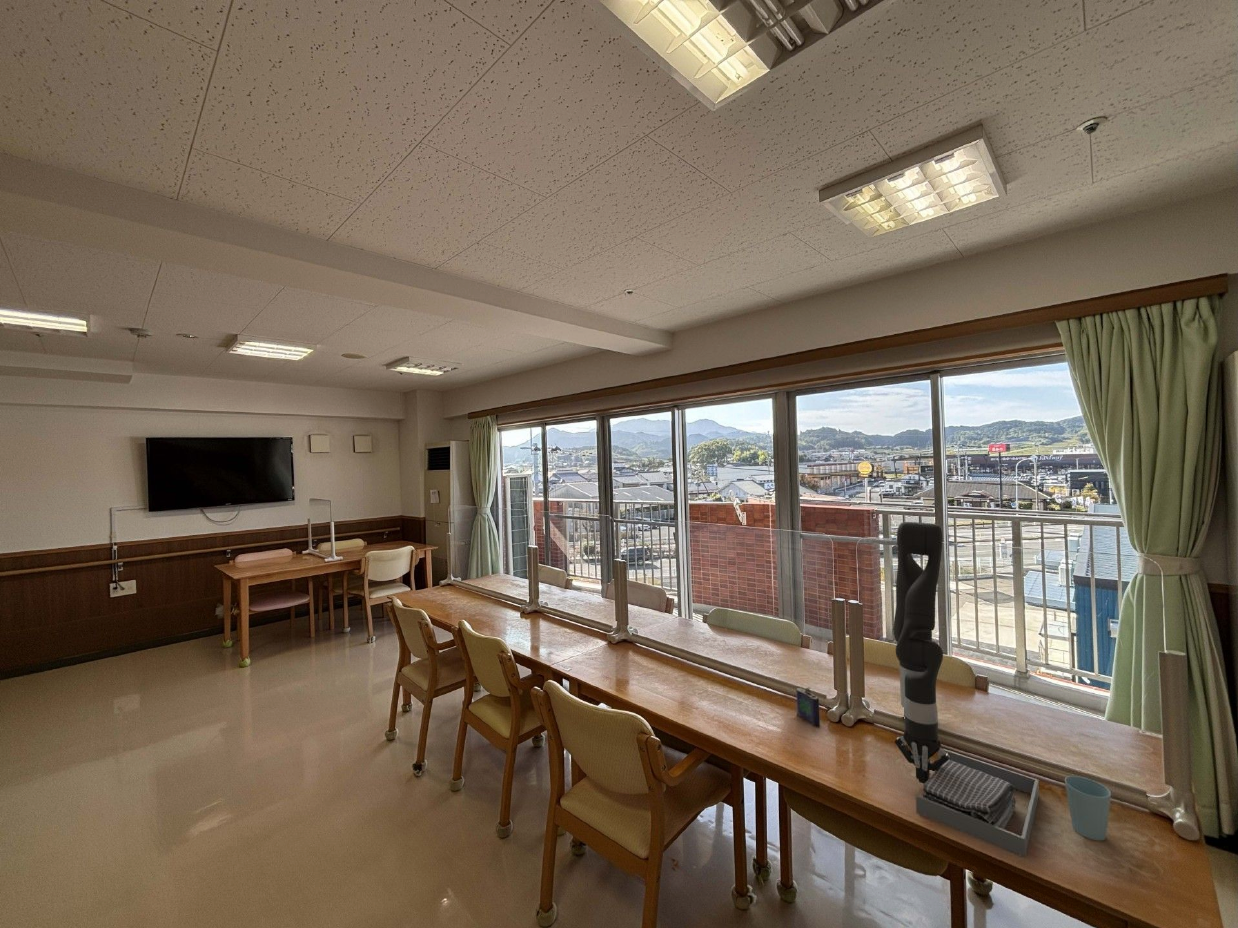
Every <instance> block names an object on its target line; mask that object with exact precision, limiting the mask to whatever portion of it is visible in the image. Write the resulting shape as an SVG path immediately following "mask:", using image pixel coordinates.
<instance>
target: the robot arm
mask: <svg viewBox="0 0 1238 928" xmlns="http://www.w3.org/2000/svg"><path fill="white" fill-rule="evenodd" d="M896 548H897V549H896V550H897V551H896V553H897V572H896V581H895V583H896V585H895V611H894V612H895V613H894V618H893V619H894V620H893V629H892V631H893V637H894V640H895V642H896V646H895V656H896V658H897V660H898V661H899V683H900V684H899V687H900V706H901V705H902V707H904V717H905V720H904V733H903V734H902V736H901V735H900V736H899V735H898V736H897V737H896V738H895V740H894V744H895V745H896V747H897V748H898V749H899V751H900V752H901V753H902V755H903V756H904V758H905V759H906V761H907V762H908V763H910V764H913V765H914V767H915V777H916V779H917V780H918V782H919V783H921V784H923V785H924V784H925V782H926V781H928V780H929V779H930V777H931V775H930V773H931V772H930V771H932V772H935V771H936V770H937V769H938V768H939V767H940V766H942V765H943V764H944V763H946V762H947V761H948V760H949V758H950V756H951V755H950V753H948V752H945V751H944V750H943V749H944V748H942V745H941V742H940V739H939V719H938V718H939V715H938V705H937V694H936V692H937V691H936V690H937V688H936V687H937V681H938V680H937V679H938V675H939V672H940V668H941V665H942V663H943V660H944V651H943V648H942V646H940V645H939V644H938V642H936V641H933V631H934V630H935V627H936V595H937V589H938V588H937V587H938V581H939V577H940V576H939V575H940V569H941V560H942V553H943V531H942V528H941V526H940V525H939V524H936V523H930V522H928V523H927V522H917V521H916V522H915V521H904V522H901V523H900V524H899V525H898V527H897V532H896ZM913 555H916V556H927V562H926V565H925V567H924V569H923V567H921V566H920V565H919V563H917V561H916V560H915V558H914V557H913ZM937 752H938V753H937ZM936 753H937V754H938V755H937V757H938V758H936V759H935V760H934V761H933V762H931V758H932V757H933V756H934V755H936Z"/></svg>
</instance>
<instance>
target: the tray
mask: <svg viewBox="0 0 1238 928" xmlns="http://www.w3.org/2000/svg"><path fill="white" fill-rule="evenodd" d="M942 749H943V750H944V751H945V752H948V753H950V755H951V756H950V758H949V760H951V761H954V762H957V763H959V764H962V765H965V766H967V767H969V768H971V769H975V770H979V771H981V772H984V773H986V774H988V775H991V776H993V777H997V778H1000V779H1002V780H1004V781H1007V782H1008V783H1011V784H1012V785H1013V786H1014V787H1015V790H1018V791H1022V792H1024V793H1026V792H1027V794H1030V800H1029V804H1028V808H1027V813H1026V816H1025V821H1024V824H1023V828H1022V832H1021V835H1018V834H1016V833H1014V832H1012V831H1009V830H1006V829H1002V828H999V827H996V826H994V825H991V824H989V823H986V822H984V821H981V820H979V819H976V818H974V817H971V816H969V815H966V814H964V813H961V812H959V811H956V810H953V809H951V808H948V807H946V806H943V805H941V804H938V803H936V802H933V801H931V800H928V799H926V798H924V797H923V796H920V795H917V794H916V796H915V807H916V813H917V814H919V815H921V816H924V817H926V818H928V819H931V820H933V821H935V822H938V823H940V824H943V825H946V826H947V827H950V828H952V829H954V830H957V831H960V832H962V833H963V834H967V835H969V836H971V837H974V838H976V839H978V840H981V841H983V842H986V843H988V844H990V845H993V846H995V847H998V848H1000V849H1003V850H1004V851H1007V852H1009V853H1012V854H1015V855H1017V856H1019V855H1021V856H1020V857H1021V858H1024V857H1025V858H1027V857H1026V856H1027V851H1028V847H1029V843H1030V838H1031V833H1032V830H1033V824H1034V820H1035V816H1036V811H1037V805H1038V801H1039V796H1040V792H1039V791H1040V787H1039V779H1037V778H1034V777H1031V776H1028V775H1025V774H1022V773H1019V772H1016V771H1013V770H1011V769H1010V770H1009V769H1007V768H1003V767H1001V766H997V765H995V764H991V763H988V762H985V761H983V760H979V759H976V758H973V757H970V756H968V755H964V754H962V753H961V754H960V753H958V752H955V751H952V750H948V749H946V748H942ZM916 813H915V814H916Z"/></svg>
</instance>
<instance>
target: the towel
mask: <svg viewBox="0 0 1238 928" xmlns="http://www.w3.org/2000/svg"><path fill="white" fill-rule="evenodd" d="M933 772H934V773H933V774H932V775H930V779H929V780H928V781H926V782H925V784H923V786H922V788H923V789H922V790H923V793H922V797H923V798H926V799H928V800H931V801H933V802H936V803H938V804H941V805H943V806H946V807H948V808H951V809H953V810H956V811H959V812H961V813H964V814H966V815H969V816H971V817H974V818H976V819H979V820H981V821H984V822H986V823H989V824H991V825H994V826H996V827H999V828H1002V829H1004V830H1006V827H1007V826H1008V824H1009V822H1010V820H1011V818H1012V817H1013V815H1014V811H1015V808H1016V804H1017V803H1016V799H1015V795H1016V789H1015V787H1014V786H1013V785H1012V784H1011V783H1008V782H1007V781H1004V780H1002V779H1000V778H997V777H993V776H991V775H988V774H986V773H984V772H981V771H979V770H975V769H971V768H969V767H967V766H965V765H962V764H959V763H957V762H954V761H951V760H948V761H947V762H946V763H944V764H943V765H942V766H940V767H939V768H938V769H937V770H935V771H933Z"/></svg>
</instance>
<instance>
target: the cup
mask: <svg viewBox="0 0 1238 928" xmlns="http://www.w3.org/2000/svg"><path fill="white" fill-rule="evenodd" d="M1064 784H1065V789H1066V797H1067V801H1068V808H1069V813H1070V819H1071V825H1072V829H1074V831H1075V832H1076V833H1077V834H1079V835H1080V836H1082V837H1085V838H1086V839H1087V838H1088V839H1089V840H1092V841H1097V842H1098V841H1099V842H1100V841H1104V840H1106V837H1107V829H1108V821H1109V814H1110V806H1111V805H1110V804H1111V798H1112V792H1111V790H1110V789H1109V788H1108V787H1106V786H1105V785H1104V784H1102V783H1100V782H1098V781H1096V780H1094V779H1090V778H1087V777H1083V776H1079V775H1068V776H1066V777H1065V778H1064Z"/></svg>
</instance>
